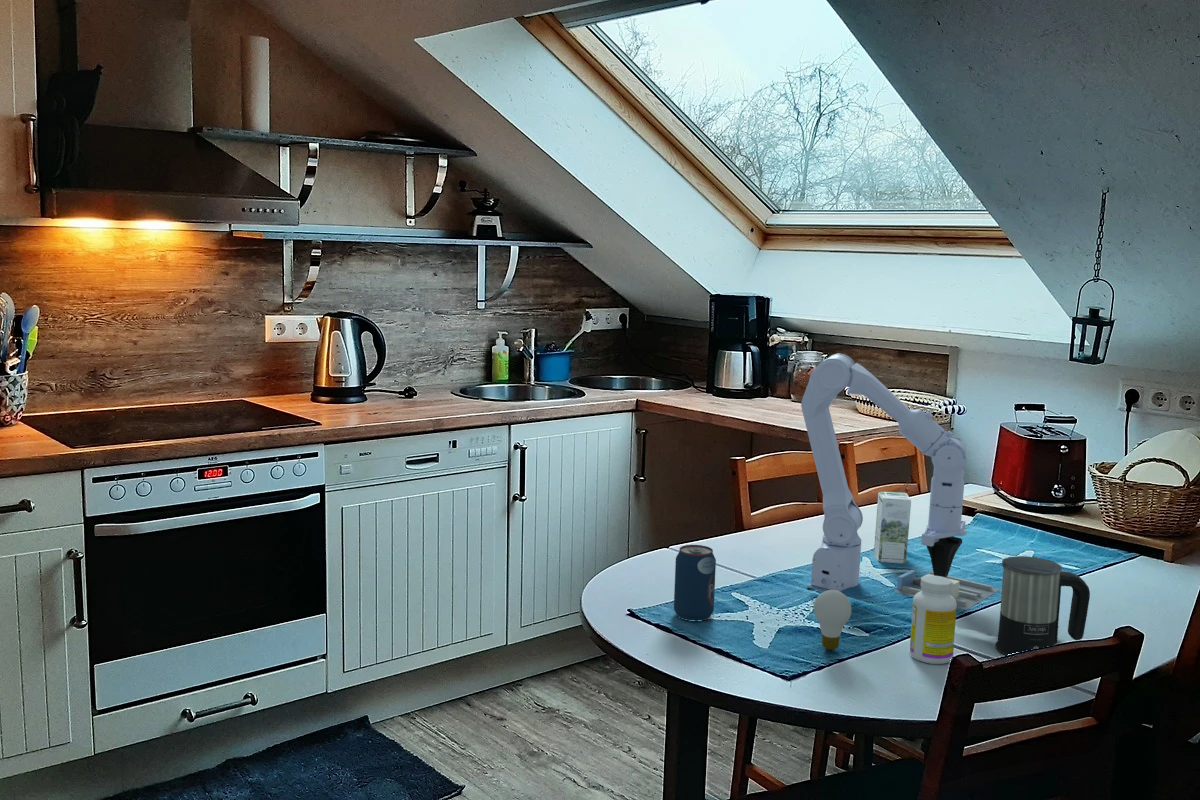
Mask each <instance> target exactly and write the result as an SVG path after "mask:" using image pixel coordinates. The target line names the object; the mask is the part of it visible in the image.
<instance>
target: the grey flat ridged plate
mask: <svg viewBox="0 0 1200 800" xmlns="http://www.w3.org/2000/svg"><path fill="white" fill-rule="evenodd" d="M916 574H917V571H916V570H914V569H911V570H908V571H906V572H904V573H903V574H901V575H899V576H898V577H897V586H896V587H897V588H896V589H894V590H892V592H893V593H897V594H900V595H905V596H907V597H908V596H909V597H913V598H914V596H915V595H916V594H917V593H918V592H920V591H922V590H921V586H918V585H914V584H913V579H914V577H916ZM927 574H931V575H934V573H933V571H930V572H928V573H926V574H924V575H922V576H921V577H919V578H922V577H923V576H925V575H927ZM945 578H948V579H952V580H957V581H960V583H959V595H958V597H957V598H955V600H956V603H957V609H960V610H964V611H967V610H969V609H970V608H972V607H973V606H975V605H977V604H979V603H980V602H982V601H983V600H985V599H987V598H989V597H991V596H993V595H994V594H995V593H998V592H999V591H1001V589H1000V588H997V587H993V585H990V584H985V583H981V582H977V581H972V580H969V579H966V578H960V577H958V576H957V577H956V576H951V575H948V576H947V577H945Z"/></svg>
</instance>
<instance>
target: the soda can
mask: <svg viewBox="0 0 1200 800" xmlns="http://www.w3.org/2000/svg"><path fill="white" fill-rule="evenodd" d="M713 551H714V550H713V548H711V547H710V546H708V545H707V546H706V545H702V544H686V545H682V546H680V547H679V551H678V553H677V554H676V557H675V567H674V568H675V569H674V571H675V572H674V589H673V590H674V591H673V593H674V596H673V610H674V611H675V612H674V613H675V614H676V615H677V617H678V616H679V617H680V618H683V619H687V620H695V621H698V620H705V621H707V620H706V619H708V618H709V617H711V616H712V614H713V613H714V611H715V610H714V609H715V589H716V588H715V587H716V569H717V567H716V566H717V563H716V562H717V559H716V557H715V554H714V552H713ZM679 617H678V618H679ZM680 618H679V619H680ZM709 619H710V618H709ZM709 619H708V620H709Z"/></svg>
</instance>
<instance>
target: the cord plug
mask: <svg viewBox="0 0 1200 800" xmlns="http://www.w3.org/2000/svg"><path fill="white" fill-rule="evenodd" d="M926 574H927V575H926ZM926 574H924V575H925V576H934V575H931V574H928V573H926ZM950 580H951V581H952V589H951V591H950V595H951V596H953V597H954V598H957V597H958V595H959V583H960V581H957V580H952V579H950ZM913 584H914V585H918V586H921V585H920V584H921V578H920V577H917V576H915V577H914V579H913ZM921 590H922V588H921Z"/></svg>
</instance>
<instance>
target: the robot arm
mask: <svg viewBox="0 0 1200 800" xmlns="http://www.w3.org/2000/svg"><path fill="white" fill-rule="evenodd" d="M854 361H855V360H853V359H852V358H851V357H850V356H848V355H847V354H844V353H834V354H832V355H830V356H828V357H827V358H825V359H823V360H822V361H821V362H820V363H819V364H818V365H817V366H816V368H815V369H813V371H812V372H811V373H810V375H809V381H808V383H807V386H806V388H805V391H804V393H803V397H802V400H801V403H800V406H801V407H800V408H801V411H802V416H803V419H804V423H805V427H806V432H807V435H808V440H809V445H810V448H811V452H812V456H813V460H814V465H815V467H816V472H817V476H818V480H819V485H820V489H821V493H822V510H823V515H824V517H823V522H822V532H823V535H822V540H821V544H820V547H819V548H817V550H815V552H813V555H812V560H811V561H812V563H811V578H810V580H811V581H810V585H811V586H810V585H806V588H809V589H813V590H815V591H816V590H817V591H820V592H824V591H827V590H837V591H840V592H842V591H844V590H847V589H850V588H856V587H857V586H858V585H859V582H860V581H859V580H860V568H861V567H860V565H861V554H862V553H861V552H862V551H861V550H862V539H861V537H860V536H859V534H858V533H859V532H858V530H859V529H860V528H861V527H862V524H863V520H864V518H863V517H864V516H863V513H862V510H861V509H860V507H859V506H858V505H857V504H856V502H855V501H854V500H855V499H854V496H853V494H852V492H851V490H850V488H849V486H848V482H847V477H846V473H845V469H844V465H843V462H842V461H843V460H842V456H841V453H840V449H839V444H838V441H837V436H836V432H835V427H834V423H833V420H832V416H831V412H830V406H831V405H832V404H833V402H834V401H835V399H836V398H837V396H838V394H839V393H841V392H842V391H843V390H844V389H845V388H846V387H847V388H848V390H846V391H847V392H846V393H847V394H853V395H859V396H865V398H867V399H868V400H870V402H872V403H873V404H874V405H876V406H877V407H878V408H880V409H881V410H882V412H884V413H886V414H887V415H888V416H889V417H891V418H892V419H893V420H894V421H895V422H897V423H898V433H899V434H900V435H902V436H903V437H904V438H905V439H906V440H907V441H909V443H911V444H912V445H913V446H914V447H915V448H916V449H917V450H919V451H920V452H921V453H923V455H925V456H927V457H930V458H931V463H932V465H933V473H932V474H933V475H932V477H931V482H930V483H931V484H930V493H929V494H930V496H929V506H928V507H929V508H928V522H927V525H926V528H925V530H924V532H923V533H922V534H921V541H920V542H921V543H920V544H921V545H923V546H925V547H926V548H927V551H928V553H929V557H930V561H931V567H932V572H933V573H934V576H941V577H947V576H949V573H950V571H951V567H952V564H953V560H954V557H955V555H956V554H957V552H958V550H959V548H960V547H961V545H962V543H963V539H962V538H961V537H964V536H966V535H967V534H968V532H967V530H966V520H962V519H963V517H962V515H963V504H964V489H965V479H964V477H965V466H966V465H967V456H968V452H967V447H966V446H965V444H964V443H963V441H962V440H961V438H960V437H957V436H954V433H953V432H952V431H951V430H948V431H947V430H945V429H944V428H943V427H942V426H941V425H940V424H939V423H938V422H936V421H935V420H934V419H933V416H934V415H933V413H931V411H928V410H927V411H926V412H925V411H923V409H919V408H918V409H915V408H914V409H911V408H909V407H908V406H907V405H906V403H904V402H903V401H901V400H900V399H899V398H898V396H896V395H895V394H894V393H893V392H892V391H891V390H889V389H888V387H887V386H886V385H885V384H884V383H882V382H881V380H879V379H878V378H877V377H876V376H875V375H874V374H872V373H871V372H870V371H869V370H868V369H866V367H864V366H862V365H861V364H860V363H858V362H856V363H855V362H854ZM958 536H959V537H958ZM818 587H819V588H818ZM822 588H823V589H822Z"/></svg>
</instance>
